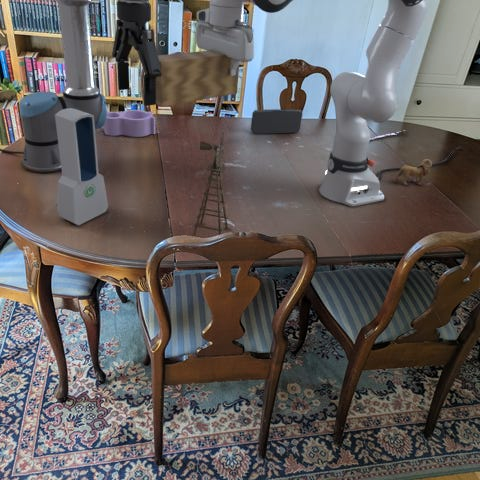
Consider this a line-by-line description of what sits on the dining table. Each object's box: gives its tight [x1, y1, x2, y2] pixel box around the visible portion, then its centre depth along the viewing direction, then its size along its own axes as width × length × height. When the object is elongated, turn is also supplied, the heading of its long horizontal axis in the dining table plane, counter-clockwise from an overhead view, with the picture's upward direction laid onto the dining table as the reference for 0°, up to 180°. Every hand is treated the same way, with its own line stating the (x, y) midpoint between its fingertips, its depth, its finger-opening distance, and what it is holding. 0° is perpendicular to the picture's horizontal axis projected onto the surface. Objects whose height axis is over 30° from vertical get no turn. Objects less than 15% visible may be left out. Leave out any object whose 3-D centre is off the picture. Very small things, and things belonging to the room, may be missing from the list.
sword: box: [370, 131, 408, 142], centre depth 215 cm, size 31×3×1 cm, turn 126°
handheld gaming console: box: [250, 108, 303, 135], centre depth 204 cm, size 23×3×10 cm, turn 108°
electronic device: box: [55, 108, 109, 226], centre depth 126 cm, size 12×8×30 cm, turn 148°
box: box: [155, 50, 240, 108], centre depth 124 cm, size 26×6×11 cm, turn 133°
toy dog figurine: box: [392, 158, 433, 186], centre depth 172 cm, size 15×5×9 cm, turn 110°
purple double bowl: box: [103, 109, 156, 138], centre depth 190 cm, size 20×12×7 cm, turn 109°
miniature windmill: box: [192, 132, 229, 237], centre depth 124 cm, size 9×8×30 cm
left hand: (136, 97), depth 115 cm, fingers open, 13 cm apart
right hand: (222, 71), depth 130 cm, fingers closed on box, 6 cm apart
